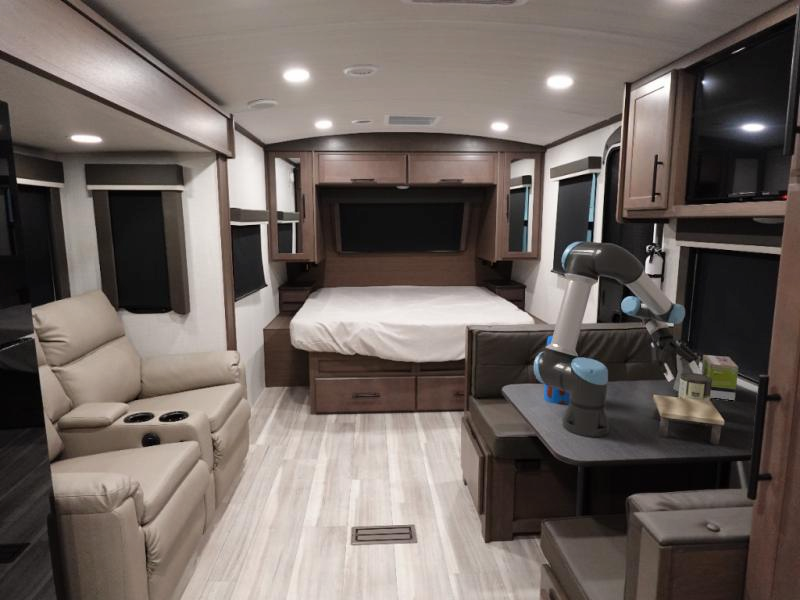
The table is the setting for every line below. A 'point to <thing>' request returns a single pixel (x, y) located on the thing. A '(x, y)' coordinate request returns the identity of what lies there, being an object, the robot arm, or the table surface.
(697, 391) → the coffee can
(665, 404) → the small wooden table
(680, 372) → the coffeepot
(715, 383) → the tea box
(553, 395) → the thermos
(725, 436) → the table surface
